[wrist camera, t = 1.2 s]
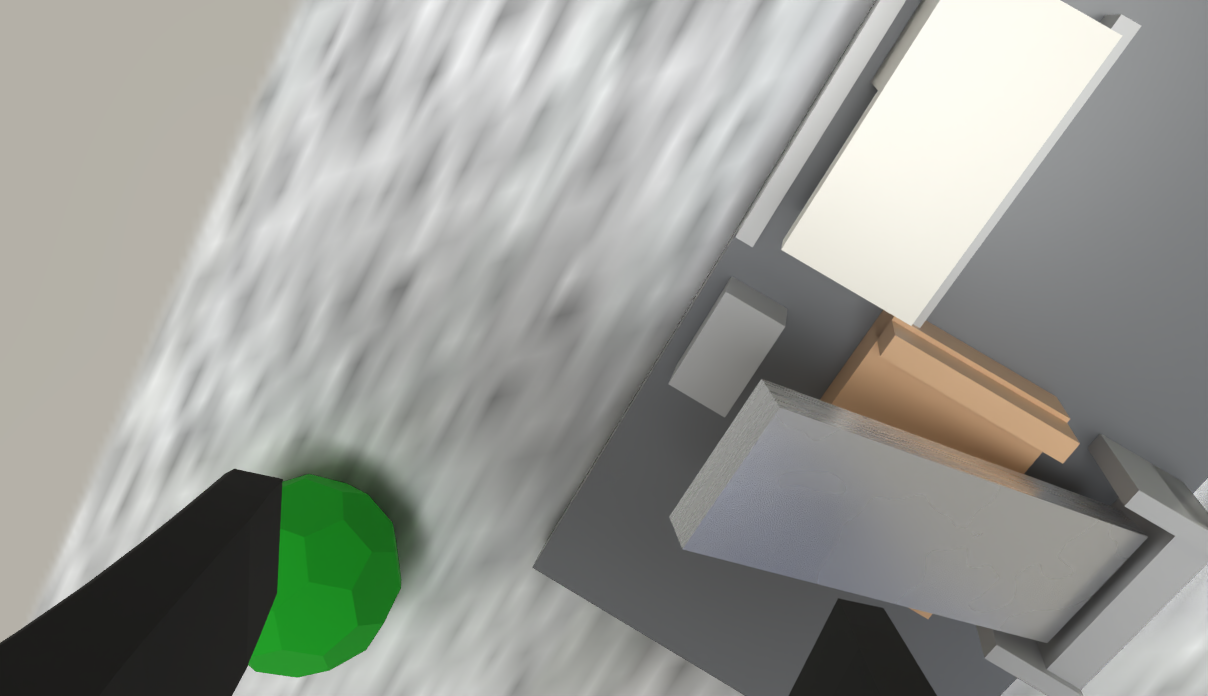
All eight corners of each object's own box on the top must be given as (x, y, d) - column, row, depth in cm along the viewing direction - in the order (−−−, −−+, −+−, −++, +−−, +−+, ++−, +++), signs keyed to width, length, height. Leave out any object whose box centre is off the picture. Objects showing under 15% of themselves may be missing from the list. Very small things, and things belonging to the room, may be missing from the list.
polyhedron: (464, 552, 26) (389, 661, 21) (348, 630, 27) (258, 746, 23) (344, 413, 25) (242, 496, 21) (234, 503, 27) (118, 597, 22)
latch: (1066, 34, 17) (1122, 36, 14) (896, 276, 19) (911, 326, 16) (944, -36, 17) (972, -51, 14) (788, 213, 19) (781, 250, 16)
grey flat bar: (1120, 509, 18) (1148, 537, 18) (1024, 613, 20) (1047, 643, 19) (761, 378, 15) (779, 407, 14) (669, 516, 16) (682, 549, 15)
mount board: (1460, 159, 18) (1619, 192, 14) (903, 758, 24) (916, 880, 21) (954, -129, 18) (986, -168, 14) (545, 543, 25) (499, 628, 21)
